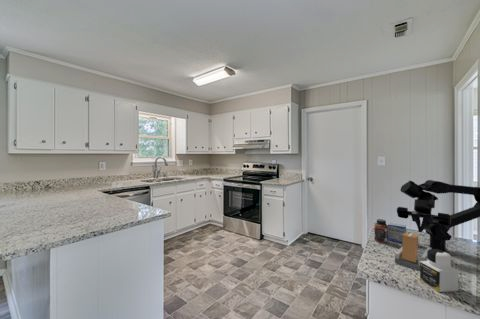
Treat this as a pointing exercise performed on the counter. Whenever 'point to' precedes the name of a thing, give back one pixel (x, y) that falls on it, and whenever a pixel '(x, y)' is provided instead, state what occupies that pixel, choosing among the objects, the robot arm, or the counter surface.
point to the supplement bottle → (381, 231)
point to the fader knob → (410, 247)
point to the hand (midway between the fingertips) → (419, 231)
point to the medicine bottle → (439, 271)
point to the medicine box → (396, 232)
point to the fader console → (421, 257)
